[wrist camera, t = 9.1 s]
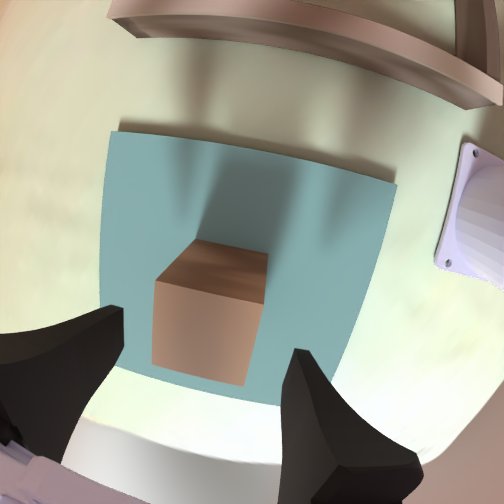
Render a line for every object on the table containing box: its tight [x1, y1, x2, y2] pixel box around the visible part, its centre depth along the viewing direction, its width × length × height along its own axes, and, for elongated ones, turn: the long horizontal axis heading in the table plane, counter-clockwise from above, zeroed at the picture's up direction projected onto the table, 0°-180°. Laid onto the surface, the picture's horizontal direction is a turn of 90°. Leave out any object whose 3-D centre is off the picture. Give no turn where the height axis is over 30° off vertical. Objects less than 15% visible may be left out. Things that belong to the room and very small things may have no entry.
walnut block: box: [152, 239, 268, 387], centre depth 14 cm, size 4×4×6 cm
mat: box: [100, 131, 397, 406], centre depth 17 cm, size 16×16×1 cm
